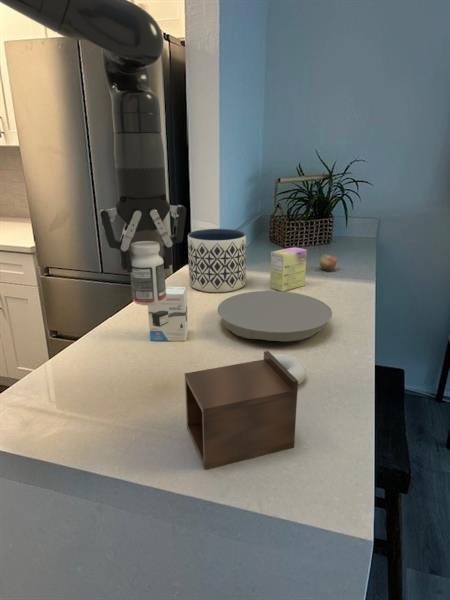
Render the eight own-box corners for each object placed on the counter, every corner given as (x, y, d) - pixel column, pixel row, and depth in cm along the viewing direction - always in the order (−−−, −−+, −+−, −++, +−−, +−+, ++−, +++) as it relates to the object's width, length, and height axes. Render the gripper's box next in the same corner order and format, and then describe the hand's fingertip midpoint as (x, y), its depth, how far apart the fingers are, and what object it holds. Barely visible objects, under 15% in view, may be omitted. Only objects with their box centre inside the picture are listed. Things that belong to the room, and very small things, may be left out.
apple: (317, 272, 152) (318, 256, 149) (320, 267, 159) (321, 251, 157) (334, 274, 150) (336, 257, 148) (337, 268, 157) (338, 252, 155)
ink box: (149, 341, 99) (146, 293, 95) (153, 332, 104) (150, 286, 100) (186, 341, 99) (184, 293, 95) (188, 332, 104) (187, 286, 100)
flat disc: (235, 301, 124) (235, 286, 123) (335, 312, 116) (336, 296, 115) (201, 341, 99) (200, 323, 98) (324, 358, 91) (326, 339, 90)
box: (292, 281, 142) (294, 246, 138) (305, 285, 138) (307, 249, 134) (269, 287, 136) (270, 251, 132) (282, 292, 132) (283, 254, 128)
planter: (241, 294, 130) (242, 241, 124) (183, 292, 132) (181, 239, 127) (248, 277, 146) (249, 229, 141) (196, 275, 149) (194, 228, 144)
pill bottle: (156, 292, 78) (152, 238, 74) (172, 301, 74) (169, 244, 70) (127, 299, 75) (122, 243, 71) (142, 308, 70) (137, 249, 67)
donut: (244, 381, 83) (289, 397, 77) (243, 365, 82) (290, 380, 76) (271, 361, 90) (314, 375, 84) (271, 346, 89) (315, 359, 83)
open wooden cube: (205, 469, 60) (203, 399, 56) (186, 428, 69) (184, 365, 65) (294, 447, 65) (298, 380, 61) (266, 410, 73) (268, 350, 70)
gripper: (93, 167, 61) (105, 281, 66) (191, 164, 65) (195, 271, 71) (89, 164, 67) (101, 268, 73) (179, 162, 72) (183, 260, 78)
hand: (147, 269), depth 72 cm, fingers closed on pill bottle, 5 cm apart
